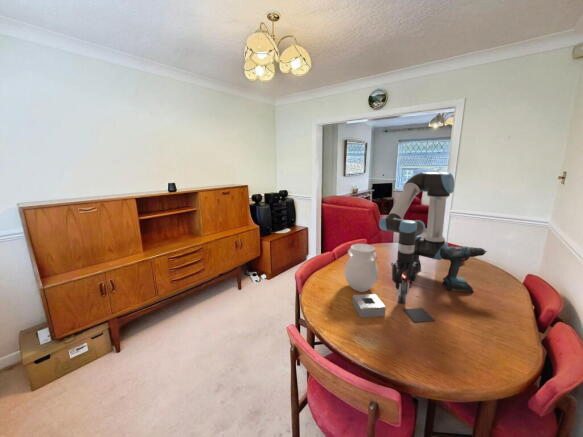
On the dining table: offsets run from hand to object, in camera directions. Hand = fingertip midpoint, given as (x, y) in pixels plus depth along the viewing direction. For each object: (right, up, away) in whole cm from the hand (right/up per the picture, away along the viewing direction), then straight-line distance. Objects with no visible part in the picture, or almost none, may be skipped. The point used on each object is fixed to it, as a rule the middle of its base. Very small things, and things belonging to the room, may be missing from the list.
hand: (402, 293), depth 129 cm
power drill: (+38, -1, +14) cm, 41 cm away
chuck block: (-19, -6, -5) cm, 21 cm away
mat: (+3, -7, -11) cm, 13 cm away
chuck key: (0, -4, +1) cm, 5 cm away
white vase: (-17, -2, +16) cm, 24 cm away
